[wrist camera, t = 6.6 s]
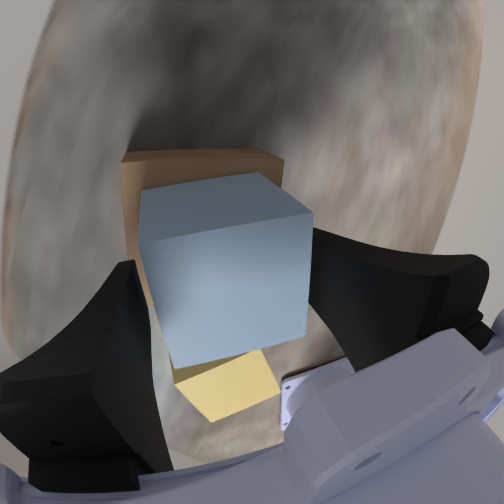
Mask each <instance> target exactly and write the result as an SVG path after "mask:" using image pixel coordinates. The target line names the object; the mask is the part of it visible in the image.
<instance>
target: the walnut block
mask: <svg viewBox="0 0 504 504" xmlns="http://www.w3.org/2000/svg"><path fill="white" fill-rule="evenodd" d="M283 165H284V160H283V159H281V158H279V157H276V156H274V155H272V154H270V153H267V152H265V151H262V150H260V149H169V150H147V151H131V152H126V153H125V155H124V157H123V159H122V161H121V182H122V200H123V214H124V226H125V236H126V246H127V255H128V260H133V259H135V263H136V266H137V270H138V274H139V277H140V281H141V285H142V288H143V292H144V295H145V298H146V302H147V305H148V306H154V303H153V300H152V296H151V293H150V289H149V285H148V282H147V278H146V274H145V270H144V266H143V262H142V258H141V254H140V250H139V246H138V233H139V214H140V199H141V190H146V189H151V188H157V187H162V186H168V185H173V184H179V183H185V182H191V181H197V180H204V179H210V178H217V177H224V176H231V175H238V174H246V173H254V172H259V173H260V174H262V175H263V176H264V177H266V178H267V179H269V180H270V181H271V182H273V183H274V184H276V185H277V186H278V187H280V188H281V184H282V174H283Z"/></svg>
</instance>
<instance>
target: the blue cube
mask: <svg viewBox="0 0 504 504" xmlns="http://www.w3.org/2000/svg"><path fill="white" fill-rule="evenodd" d="M312 235H313V212H312V211H311V210H309V209H308V208H307V207H305V206H304V205H303V204H301V203H300V202H299V201H297V200H296V199H295V198H293V197H292V196H291V195H289V194H288V193H287V192H285V191H284V190H282V189H281V188H280V187H278V186H277V185H276V184H274V183H273V182H271V181H270V180H269V179H267V178H266V177H264V176H263V175H262V174H260V173H259V172H254V173H246V174H238V175H231V176H224V177H217V178H210V179H204V180H197V181H191V182H185V183H179V184H173V185H168V186H162V187H157V188H151V189H146V190H141V199H140V214H139V233H138V246H139V250H140V254H141V258H142V262H143V266H144V270H145V274H146V278H147V282H148V285H149V289H150V293H151V296H152V300H153V303H154V307H155V310H156V313H157V317H158V320H159V323H160V326H161V330H162V333H163V336H164V339H165V342H166V345H167V348H168V351H169V354H170V357H171V360H172V363H173V366H174V369H178V368H183V367H188V366H192V365H197V364H201V363H206V362H210V361H214V360H219V359H223V358H227V357H231V356H235V355H239V354H243V353H247V352H251V351H254V350H258V349H262V348H265V347H269V346H273V345H276V344H280V343H283V342H287V341H290V340H293V339H297V338H300V337H303V336H305V332H306V322H307V310H308V298H309V284H310V270H311V253H312Z"/></svg>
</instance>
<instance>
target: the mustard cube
mask: <svg viewBox="0 0 504 504" xmlns="http://www.w3.org/2000/svg"><path fill="white" fill-rule="evenodd" d="M168 352H169V351H168ZM169 358H170V363H171V369H172V374H173V379H174V385H175V386H176V387H177V388H178V389H179V390H180V391H181V392H182V393H183V394H184V395H185V396H186V397H187V398H188V400H189V401H190V402H191V403H192V404H193V405H194V406H195V407H196V408H197V409H198V410H199V411H200V412H201V413H202V414H203V415H204V416H205V417H206V418H207V419H208V420H209V421H210V422H214V421H216V420H219V419H221V418H224V417H226V416H229V415H231V414H234V413H236V412H238V411H241V410H243V409H246V408H248V407H250V406H252V405H255V404H257V403H259V402H261V401H264V400H266V399H268V398H270V397H272V396H274V395H277V394H279V393H281V390H280V388H279V386H278V384H277V382H276V380H275V378H274V376H273V374H272V372H271V370H270V368H269V366H268V364H267V362H266V360H265V357H264V355H263V353H262V351H261V349H258V350H254V351H251V352H247V353H243V354H239V355H235V356H231V357H227V358H223V359H219V360H214V361H210V362H206V363H201V364H197V365H192V366H188V367H183V368H178V369H174V366H173V363H172V360H171V357H170V354H169Z"/></svg>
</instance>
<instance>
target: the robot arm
mask: <svg viewBox="0 0 504 504" xmlns="http://www.w3.org/2000/svg"><path fill="white" fill-rule="evenodd" d="M488 280H489V266H488V264H487V262H486V261H484V260H483V259H481V258H480V257H478V256H476V255H473V254H467V255H429V254H418V253H410V252H402V251H396V250H391V249H386V248H381V247H377V246H373V245H369V244H365V243H362V242H358V241H355V240H352V239H348V238H345V237H342V236H339V235H336V234H333V233H330V232H327V231H324V230H320V229H317V228H313V235H312V253H311V270H310V284H309V298H308V303H309V304H310V305H311V306H312V308H313V309H314V310H315V311H316V313H317V314H318V315H319V316H320V318H321V319H322V320H323V322H324V323H325V324H326V325H327V327H328V328H329V329H330V331H331V332H332V333H333V335H334V336H335V338H336V339H337V341H338V343H339V344H340V346H341V348H342V349H343V351H344V353H345V354H346V356H347V357H344V358H342V359H339V360H337V361H334V362H331V363H329V364H326V365H323V366H321V367H318V368H315V369H312V370H309V371H307V372H304V373H301V374H298V375H295V376H292V377H289V378H286V379H284V380H283V381H282V383H281V411H280V429H281V430H285V432H284V442H283V443H280V444H277V445H274V446H271V447H268V448H265V449H262V450H259V451H255V452H252V453H248V454H245V455H241V456H238V457H234V458H230V459H226V460H222V461H218V462H214V463H209V464H205V465H200V466H195V467H190V468H185V469H180V470H174V468H173V466H172V462H171V459H170V455H169V452H168V448H167V444H166V441H165V437H164V433H163V429H162V425H161V420H160V416H159V412H158V407H157V402H156V397H155V391H154V386H153V377H152V356H151V326H150V319H149V312H148V305H147V302H146V298H145V295H144V292H143V288H142V285H141V281H140V277H139V274H138V270H137V266H136V263H135V259H133V260H128V261H123V262H119V263H118V264H117V265H116V266H115V268H114V269H113V271H112V272H111V274H110V275H109V276H108V278H107V279H106V281H105V282H104V283H103V285H102V286H101V288H100V289H99V290H98V291H97V293H96V294H95V295H94V296H93V298H92V299H91V300H90V301H89V303H88V304H87V305H86V306H85V308H84V309H83V310H82V311H81V312H80V313H79V314H78V315H77V316H76V317H75V318H74V319H73V320H72V321H71V322H70V323H69V324H68V325H67V326H66V327H65V328H64V329H63V330H62V331H61V332H59V333H58V334H57V335H56V336H55V337H54V338H53V339H51V340H50V341H49V342H48V343H46V344H45V345H44V346H42V347H41V348H40V349H38V350H37V351H35V352H34V353H33V354H31V355H30V356H28V357H27V358H25V359H24V360H22V361H20V362H19V363H17V364H15V365H13V366H12V367H10V368H8V369H6V370H5V371H3V372H1V373H0V432H1V433H2V435H3V436H4V437H5V438H6V439H7V440H9V441H10V442H11V443H12V444H13V445H14V446H15V447H16V448H17V449H19V450H20V451H21V452H22V453H23V454H25V455H26V456H27V457H28V458H29V473H28V475H29V476H28V477H19V476H18V475H17V474H16V473H15V472H14V471H13V470H11V469H10V468H8V467H7V466H5V465H2V464H0V504H504V444H503V442H502V441H501V440H500V439H499V438H498V437H497V435H496V434H495V433H494V432H493V431H492V430H491V429H490V427H489V426H488V425H487V424H486V422H487V421H488V420H489V419H490V418H491V417H492V416H493V415H494V413H495V412H496V411H497V410H498V409H499V408H500V407H501V406H502V405H503V404H504V309H503V310H502V311H501V312H500V313H499V314H498V316H497V317H496V319H495V321H494V323H493V325H492V327H491V329H490V328H489V327H488V326H487V325H485V324H484V323H483V322H482V321H481V320H482V318H483V314H482V313H481V312H480V311H478V307H479V305H480V303H481V300H482V297H483V295H484V292H485V290H486V286H487V283H488Z"/></svg>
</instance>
